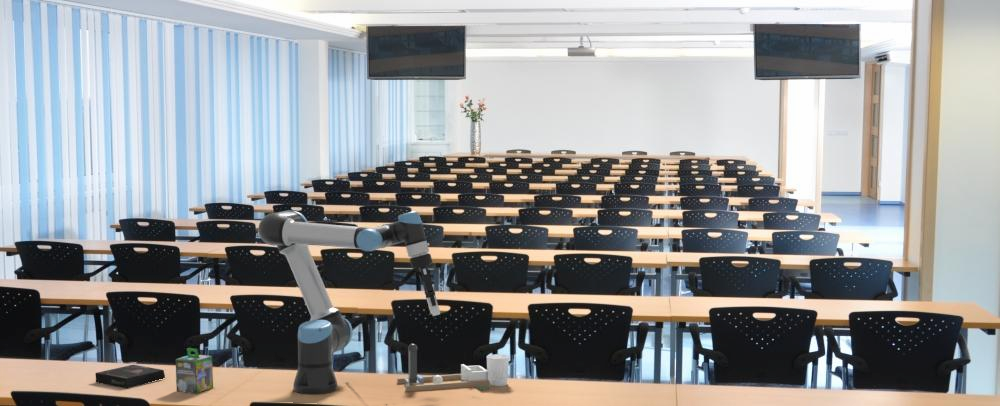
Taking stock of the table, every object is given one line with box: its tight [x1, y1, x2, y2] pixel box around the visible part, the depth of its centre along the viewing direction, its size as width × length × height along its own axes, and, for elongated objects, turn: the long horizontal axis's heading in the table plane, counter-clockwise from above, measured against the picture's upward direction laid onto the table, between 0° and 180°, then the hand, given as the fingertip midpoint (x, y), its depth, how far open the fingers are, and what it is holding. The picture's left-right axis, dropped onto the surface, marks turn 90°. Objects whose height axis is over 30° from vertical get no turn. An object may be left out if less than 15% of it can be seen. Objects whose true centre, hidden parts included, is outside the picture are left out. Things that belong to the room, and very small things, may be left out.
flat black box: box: [95, 364, 166, 389], centre depth 398 cm, size 16×17×4 cm
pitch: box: [396, 373, 491, 393], centre depth 389 cm, size 30×13×3 cm, turn 109°
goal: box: [460, 363, 488, 382], centre depth 393 cm, size 7×10×6 cm
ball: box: [432, 374, 444, 384], centre depth 389 cm, size 4×4×4 cm
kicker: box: [404, 343, 425, 386], centre depth 385 cm, size 5×7×15 cm
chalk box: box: [175, 347, 214, 394], centre depth 385 cm, size 9×9×15 cm
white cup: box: [486, 353, 510, 387], centre depth 395 cm, size 8×8×10 cm
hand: (435, 314), depth 386 cm, fingers open, 13 cm apart
